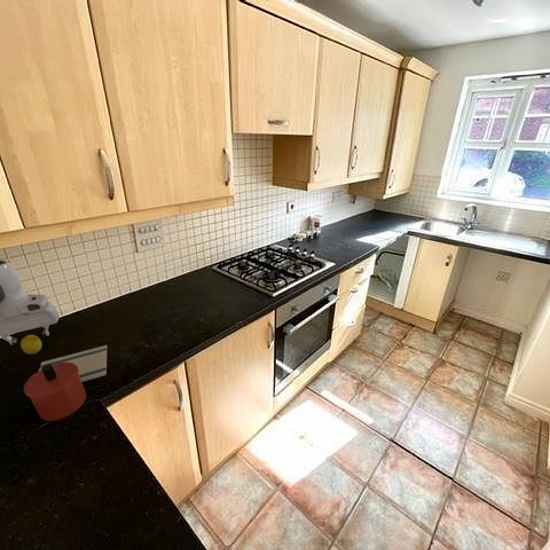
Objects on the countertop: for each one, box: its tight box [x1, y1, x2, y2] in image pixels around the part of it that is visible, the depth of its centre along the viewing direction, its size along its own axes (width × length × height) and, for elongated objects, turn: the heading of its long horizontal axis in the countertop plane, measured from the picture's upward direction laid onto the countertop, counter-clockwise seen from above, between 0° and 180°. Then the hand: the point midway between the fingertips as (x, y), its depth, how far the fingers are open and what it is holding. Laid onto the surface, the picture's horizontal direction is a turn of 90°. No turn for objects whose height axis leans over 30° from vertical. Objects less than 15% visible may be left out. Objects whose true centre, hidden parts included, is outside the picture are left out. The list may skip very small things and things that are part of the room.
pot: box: [29, 374, 87, 422], centre depth 86 cm, size 12×12×10 cm
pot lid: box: [23, 362, 78, 398], centre depth 83 cm, size 13×13×5 cm
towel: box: [38, 344, 108, 383], centre depth 100 cm, size 20×16×1 cm
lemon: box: [20, 334, 43, 355], centre depth 106 cm, size 6×6×8 cm
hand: (30, 339), depth 105 cm, fingers open, 8 cm apart
